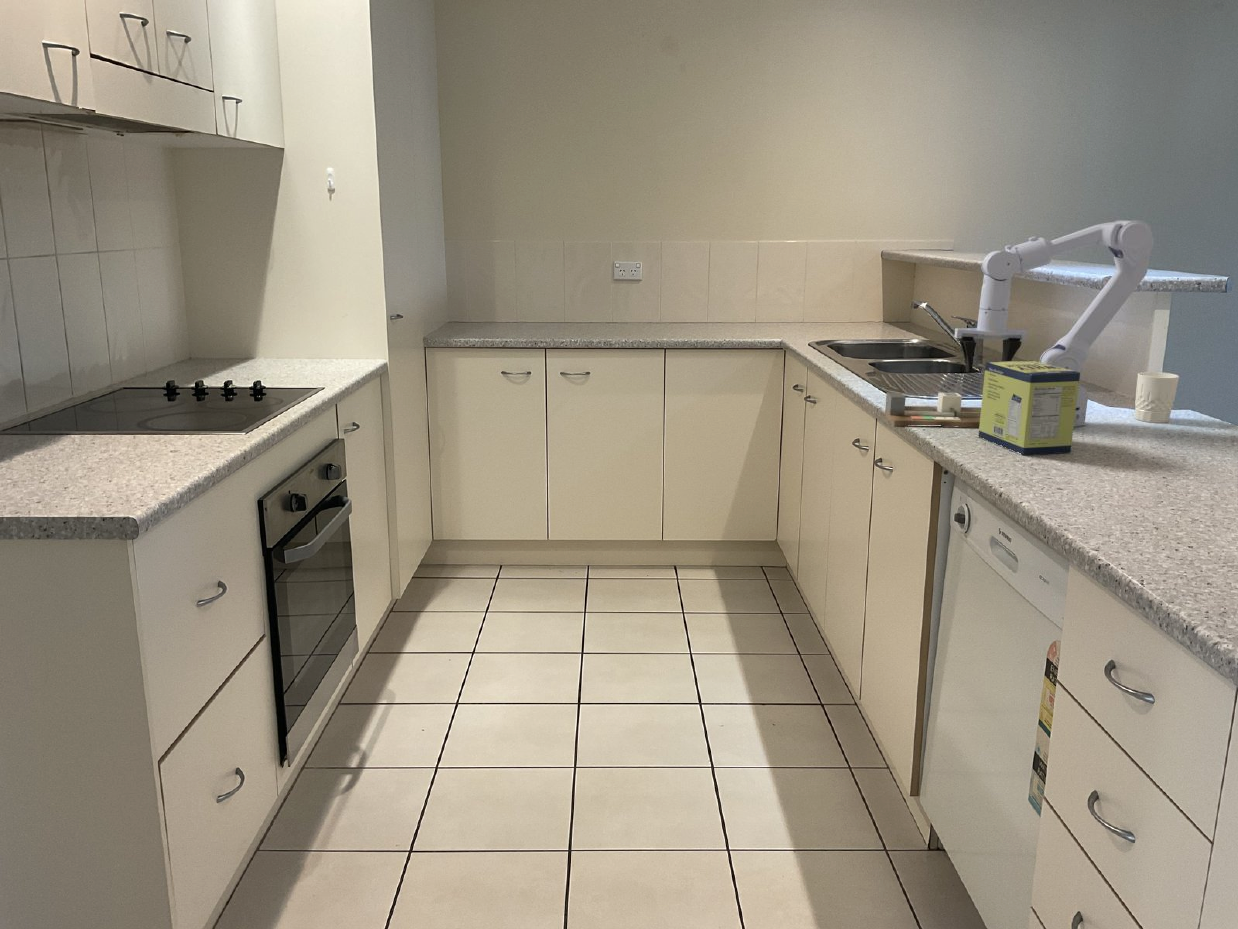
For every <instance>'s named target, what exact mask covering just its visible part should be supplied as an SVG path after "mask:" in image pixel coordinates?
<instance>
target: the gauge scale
mask: <svg viewBox="0 0 1238 929" xmlns="http://www.w3.org/2000/svg"><path fill="white" fill-rule="evenodd" d="M910 417H911V418H912V419H913V420H952V421H961V419H960V418H958V417H932V416H910Z"/></svg>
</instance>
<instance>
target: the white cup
mask: <svg viewBox="0 0 1238 929" xmlns="http://www.w3.org/2000/svg"><path fill="white" fill-rule="evenodd" d="M1179 380H1180V376H1179V375H1178V374H1174V373H1171V372H1170V373H1169V372H1159V371H1140V372H1138V373H1137V377H1136V389H1135V402H1134V405H1135V409H1134V417H1133V418H1134V419H1135V420H1137V421H1140V422H1145V423H1151V424H1152V423H1153V424H1155V423H1157V424H1164V423H1169V421H1170V418H1171V413H1172V410H1173V405H1174V404H1175V398H1176V393H1177V389H1178V384H1179Z"/></svg>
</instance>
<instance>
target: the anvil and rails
mask: <svg viewBox="0 0 1238 929" xmlns="http://www.w3.org/2000/svg"><path fill="white" fill-rule="evenodd" d="M885 396H886V397H885V409H884V411H885V410H886V411H887V413H888V414H889V415H898V416H937V417H954V412H943V411H937V405H936V406H931V405H930V406H929V405H928V406H927V405H926V406H925V405H906V396H905V395H904V394H903V393H902V392H895V391H894V392H891V391H890V392H886V395H885ZM980 415H981V407H980V406H978V407H977V406H974V407H973V406H961V411H960V412H957V417H980Z"/></svg>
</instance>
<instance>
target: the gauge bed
mask: <svg viewBox="0 0 1238 929" xmlns="http://www.w3.org/2000/svg"><path fill="white" fill-rule="evenodd" d="M884 416H885V417H886V418H887V420H888V421H889V422H890V423H891V424H892V425H893V427H909V426H908V425H941V426H958V427H957V428H962V427H970V429H971V428H973V429H976V428H977V429H979V425H980V417H958V418H960V419H961V421H952V420H913V419H912V418H911V417H910V416H898V415H889V414H888V413H887V411H886V410H885V409H884ZM932 417H937V416H932Z"/></svg>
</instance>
